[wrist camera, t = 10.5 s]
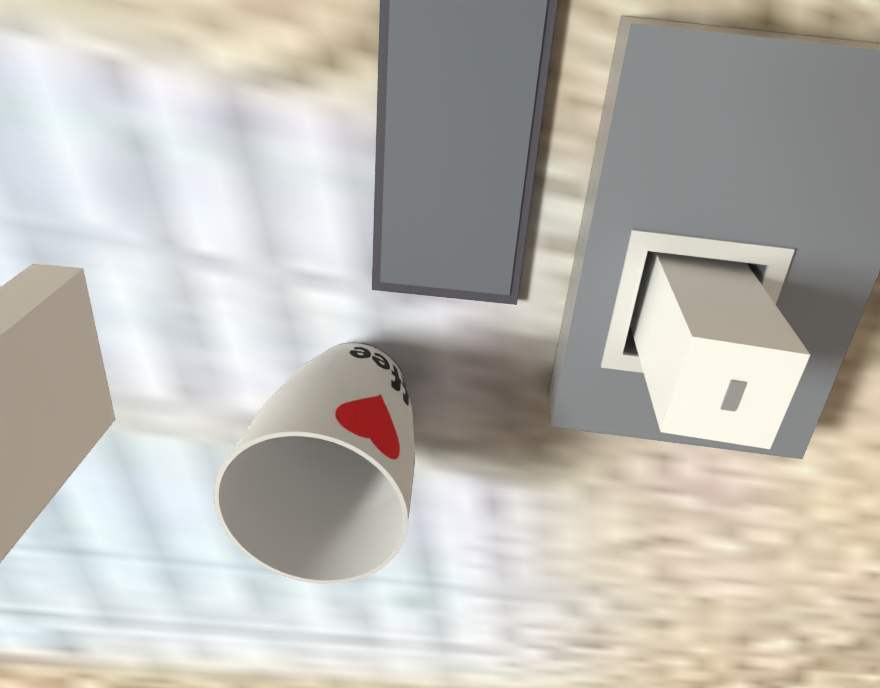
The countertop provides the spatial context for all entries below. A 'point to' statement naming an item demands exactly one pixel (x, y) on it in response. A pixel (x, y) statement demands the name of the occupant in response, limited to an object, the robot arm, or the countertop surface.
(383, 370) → the cup
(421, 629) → the countertop surface
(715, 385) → the block
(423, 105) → the phone
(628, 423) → the plate
